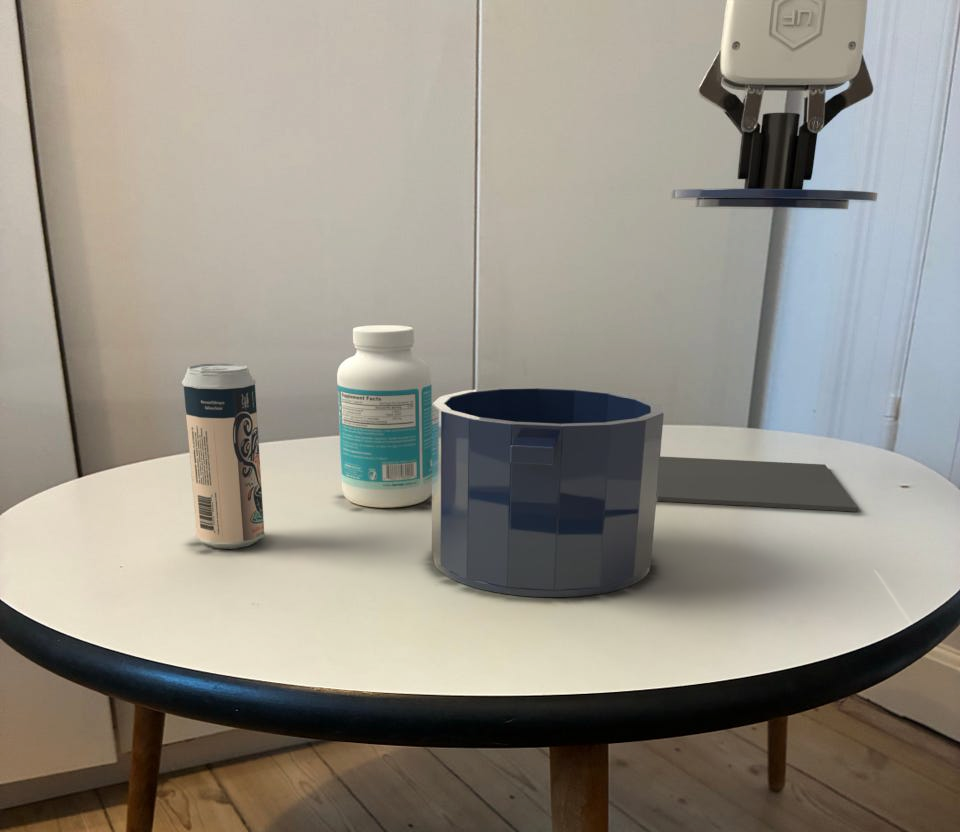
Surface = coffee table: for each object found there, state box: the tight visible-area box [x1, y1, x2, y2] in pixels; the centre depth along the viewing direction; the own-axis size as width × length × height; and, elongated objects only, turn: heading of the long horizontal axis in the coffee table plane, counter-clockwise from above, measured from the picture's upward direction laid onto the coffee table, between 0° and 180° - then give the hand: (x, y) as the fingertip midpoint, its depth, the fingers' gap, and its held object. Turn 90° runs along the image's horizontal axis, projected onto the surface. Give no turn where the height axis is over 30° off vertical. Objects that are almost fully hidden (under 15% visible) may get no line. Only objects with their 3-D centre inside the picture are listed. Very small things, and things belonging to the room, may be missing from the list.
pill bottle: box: [336, 324, 433, 509], centre depth 82 cm, size 8×7×14 cm
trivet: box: [656, 455, 858, 513], centre depth 91 cm, size 16×16×1 cm
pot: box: [431, 386, 665, 598], centre depth 67 cm, size 15×20×10 cm
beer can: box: [181, 362, 266, 550], centre depth 70 cm, size 5×5×12 cm
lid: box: [670, 112, 878, 211], centre depth 80 cm, size 16×16×7 cm
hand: (772, 188), depth 81 cm, fingers closed on lid, 2 cm apart
